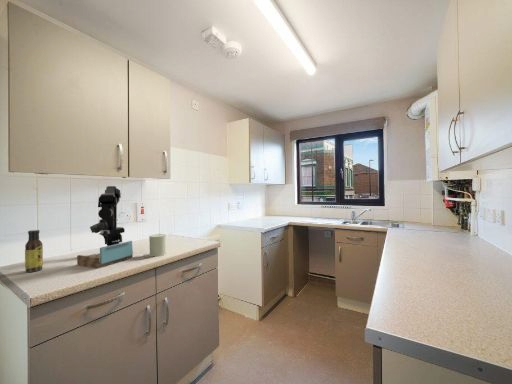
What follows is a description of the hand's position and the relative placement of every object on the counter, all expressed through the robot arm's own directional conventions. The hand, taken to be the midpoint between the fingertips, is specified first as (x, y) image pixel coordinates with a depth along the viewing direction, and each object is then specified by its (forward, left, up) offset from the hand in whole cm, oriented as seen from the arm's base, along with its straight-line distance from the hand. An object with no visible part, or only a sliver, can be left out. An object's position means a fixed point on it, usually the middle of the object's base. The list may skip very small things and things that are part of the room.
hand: (108, 245), depth 126 cm
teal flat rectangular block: (+6, 0, -7) cm, 9 cm away
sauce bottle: (-21, -23, -9) cm, 32 cm away
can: (+15, +20, -9) cm, 27 cm away
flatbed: (-2, 0, -9) cm, 9 cm away
